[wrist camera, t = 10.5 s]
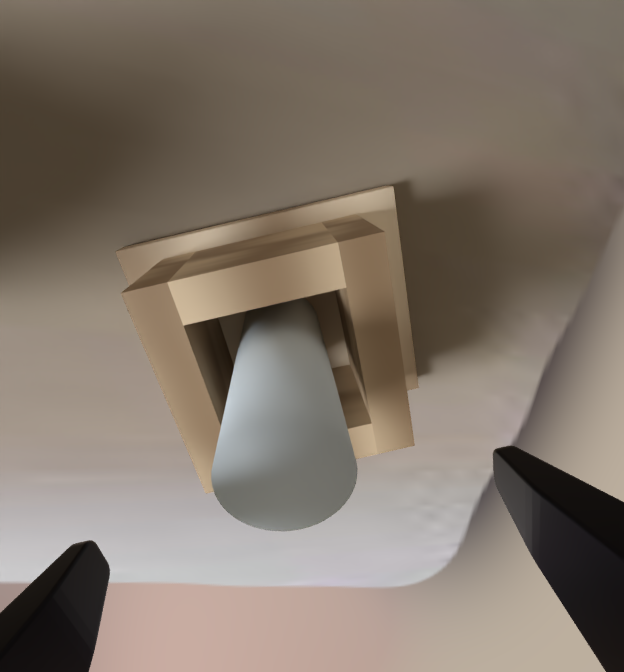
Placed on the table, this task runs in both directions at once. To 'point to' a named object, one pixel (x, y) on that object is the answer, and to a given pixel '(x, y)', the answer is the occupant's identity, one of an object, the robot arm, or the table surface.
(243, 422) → the peg
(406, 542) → the table surface
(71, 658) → the robot arm
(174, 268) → the bottle holder
